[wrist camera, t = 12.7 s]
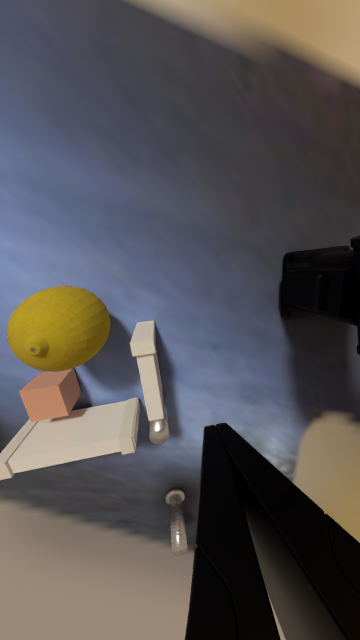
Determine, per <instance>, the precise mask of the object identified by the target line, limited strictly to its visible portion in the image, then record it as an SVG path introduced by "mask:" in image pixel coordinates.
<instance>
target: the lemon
mask: <svg viewBox="0 0 360 640" xmlns="http://www.w3.org/2000/svg"><path fill="white" fill-rule="evenodd" d="M110 325H111V321H110V316H109V312H108V310H107V308H106V306H105V305H104V303H103V302H102V301H101V300H100V299H99V298H98V297H97V296H95V295H94V294H93V293H91V292H89V291H87V290H84V289H81V288H77V287H72V286H58V287H53V288H49V289H45V290H42V291H40V292H38V293H36V294H34V295H32V296H31V297H29V298H27V299H26V300H24V301H23V302H22V303H21V304H20V305H19V306H18V308H17V309H16V310H15V311H14V312H13V314H12V316H11V318H10V320H9V322H8V329H7V337H8V343H9V345H10V347H11V349H12V351H13V352H14V354H15V355H16V356H17V357H18V358H19V359H20V360H21V361H22V362H24V363H25V364H26V365H29V366H31V367H33V368H35V369H38V370H42V371H52V372H59V371H65V370H69V369H72V368H75V367H77V366H79V365H82V364H84V363H86V362H87V361H88V360H90V359H91V358H92V357H94V356H95V355H96V354H97V353H98V352H99V351H100V350H101V348H102V347H103V346H104V344H105V343H106V341H107V338H108V336H109V333H110Z"/></svg>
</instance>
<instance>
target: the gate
mask: <svg viewBox="0 0 360 640" xmlns="http://www.w3.org/2000/svg"><path fill="white" fill-rule="evenodd" d="M139 415H140V404H139V400H138V399H137V398H132V399H127V401H122V402H117V403H111V404H106V405H100V406H95V407H89V408H84V409H79V410H73V411H71V412H70V414H69V415H68V416H63V417H57V418H52V419H46V420H40V421H35V422H31V420H30V419H29V420H28V421H27V423H26V424H25V425H24V426H23V427H22V428H21V430H20V431H19V432H18V433H17V434H16V436H15V437H14V438H13V439H12V440H11V441H10V443H9V444H8V445H7V446H6V447H5V449H4V450H3V451H2V452H1V453H0V480H3V479H7V478H12V477H13V475H14V474H15V473H18V472H22V471H27V470H32V469H37V468H42V467H47V466H52V465H57V464H61V463H66V462H71V461H76V460H81V459H86V458H91V457H96V456H100V455H105V454H110V453H115V452H120V451H121V452H122V455H123V454H128V453H133V452H135V448H136V443H137V434H138V424H139Z"/></svg>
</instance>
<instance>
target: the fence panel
mask: <svg viewBox="0 0 360 640" xmlns="http://www.w3.org/2000/svg"><path fill="white" fill-rule="evenodd" d="M130 346H131V351H132V356H136V357H137V363H138V368H139V373H140V378H141V383H142V388H143V393H144V399H145V404H146V409H147V414H148V419H149V421H152V420H157V419H163V418H164V413H163V395H162V382H161V376H160V370H159V363H158V357H157V351H156V345H155V324H154V320H152V321H145V322H138V323H137V324H136V327H135V330H134V333H133V336H132V339H131V342H130Z"/></svg>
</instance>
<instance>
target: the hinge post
mask: <svg viewBox="0 0 360 640" xmlns="http://www.w3.org/2000/svg"><path fill="white" fill-rule="evenodd" d="M162 395H163V413H164V418H163V419H157V420H152V421H150V433H149V439H150V441H151V442H152V443H154V444H162V443H164V442H166V441H167V440H168V438H169V430H168V417H167V405H166V395H165V393H164V392H163V391H162Z"/></svg>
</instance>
